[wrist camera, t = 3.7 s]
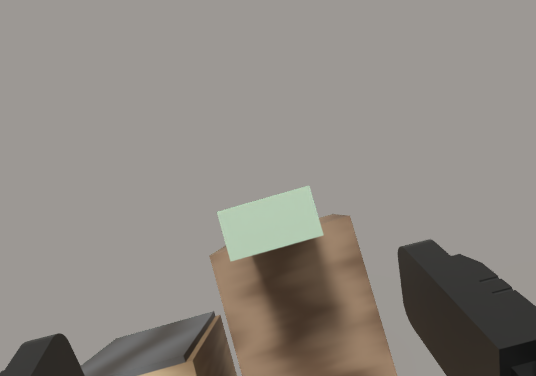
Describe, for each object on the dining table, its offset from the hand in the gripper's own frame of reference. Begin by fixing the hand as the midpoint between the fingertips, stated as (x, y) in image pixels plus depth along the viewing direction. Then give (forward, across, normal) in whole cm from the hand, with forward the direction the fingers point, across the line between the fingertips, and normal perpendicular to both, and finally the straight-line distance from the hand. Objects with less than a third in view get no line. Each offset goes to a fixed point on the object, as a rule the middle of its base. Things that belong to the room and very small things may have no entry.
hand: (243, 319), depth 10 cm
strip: (+20, +2, -8) cm, 21 cm away
